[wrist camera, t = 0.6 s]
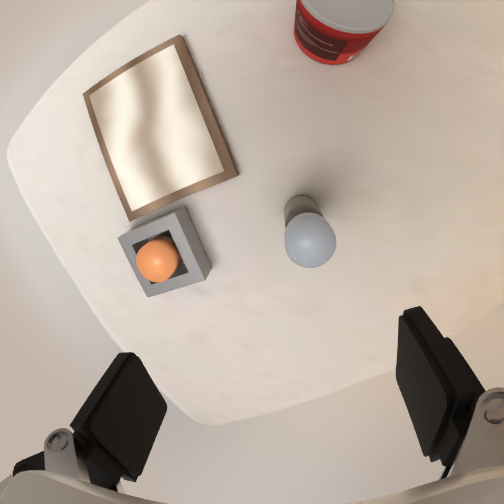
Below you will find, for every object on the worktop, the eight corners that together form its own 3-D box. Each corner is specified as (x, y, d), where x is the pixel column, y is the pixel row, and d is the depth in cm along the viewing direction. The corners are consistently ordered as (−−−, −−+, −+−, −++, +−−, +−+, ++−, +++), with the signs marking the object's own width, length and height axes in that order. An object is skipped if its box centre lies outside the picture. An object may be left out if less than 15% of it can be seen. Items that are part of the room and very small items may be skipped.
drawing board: (183, 37, 25) (179, 34, 24) (238, 175, 30) (236, 176, 29) (88, 94, 28) (81, 93, 27) (134, 219, 33) (128, 222, 32)
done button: (172, 230, 31) (162, 238, 28) (188, 265, 33) (179, 276, 30) (141, 242, 32) (129, 251, 29) (157, 275, 33) (147, 286, 31)
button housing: (185, 205, 32) (174, 212, 29) (212, 267, 35) (205, 280, 31) (131, 229, 34) (117, 237, 31) (158, 284, 36) (147, 297, 33)
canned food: (361, 15, 22) (390, -30, 12) (361, 72, 25) (398, 41, 15) (294, 4, 23) (298, -48, 12) (292, 62, 25) (297, 22, 15)
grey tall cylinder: (311, 189, 30) (328, 211, 20) (322, 221, 31) (341, 258, 21) (278, 200, 31) (277, 228, 21) (290, 232, 32) (294, 274, 22)
